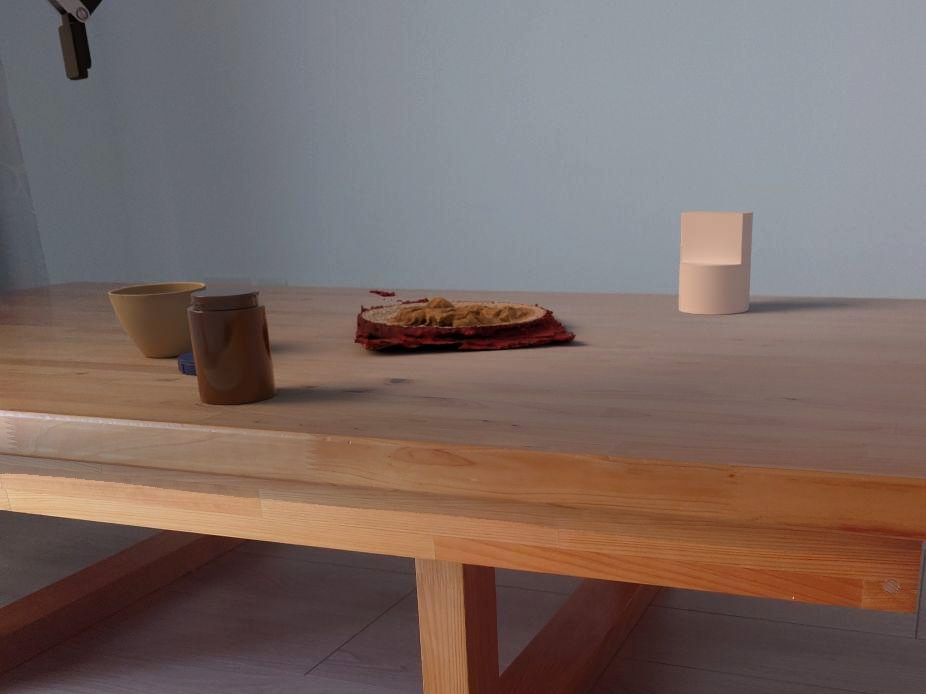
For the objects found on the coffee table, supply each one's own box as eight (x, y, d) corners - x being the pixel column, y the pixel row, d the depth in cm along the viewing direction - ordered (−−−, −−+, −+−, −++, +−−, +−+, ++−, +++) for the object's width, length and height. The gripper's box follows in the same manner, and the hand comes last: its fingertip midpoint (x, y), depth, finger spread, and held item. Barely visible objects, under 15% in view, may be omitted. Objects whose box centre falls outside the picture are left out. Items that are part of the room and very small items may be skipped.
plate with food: (355, 359, 107) (352, 326, 105) (362, 316, 130) (360, 289, 129) (576, 350, 109) (577, 319, 108) (544, 310, 133) (544, 284, 132)
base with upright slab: (666, 311, 130) (667, 214, 125) (697, 302, 137) (700, 209, 132) (730, 316, 125) (734, 215, 120) (760, 306, 132) (764, 210, 127)
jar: (219, 408, 86) (203, 299, 83) (188, 396, 91) (172, 293, 88) (289, 395, 90) (276, 290, 87) (255, 384, 95) (242, 285, 92)
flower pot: (152, 345, 117) (142, 282, 115) (231, 345, 115) (222, 281, 113) (100, 362, 108) (88, 294, 106) (185, 363, 106) (174, 293, 103)
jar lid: (259, 369, 102) (257, 355, 102) (189, 378, 99) (186, 364, 98) (240, 358, 108) (238, 345, 107) (173, 367, 104) (171, 353, 104)
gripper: (-173, -224, 64) (-103, 71, 70) (103, -177, 75) (142, 77, 81) (-190, -193, 69) (-124, 79, 76) (70, -153, 80) (109, 83, 86)
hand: (14, 77), depth 78 cm, fingers open, 9 cm apart
